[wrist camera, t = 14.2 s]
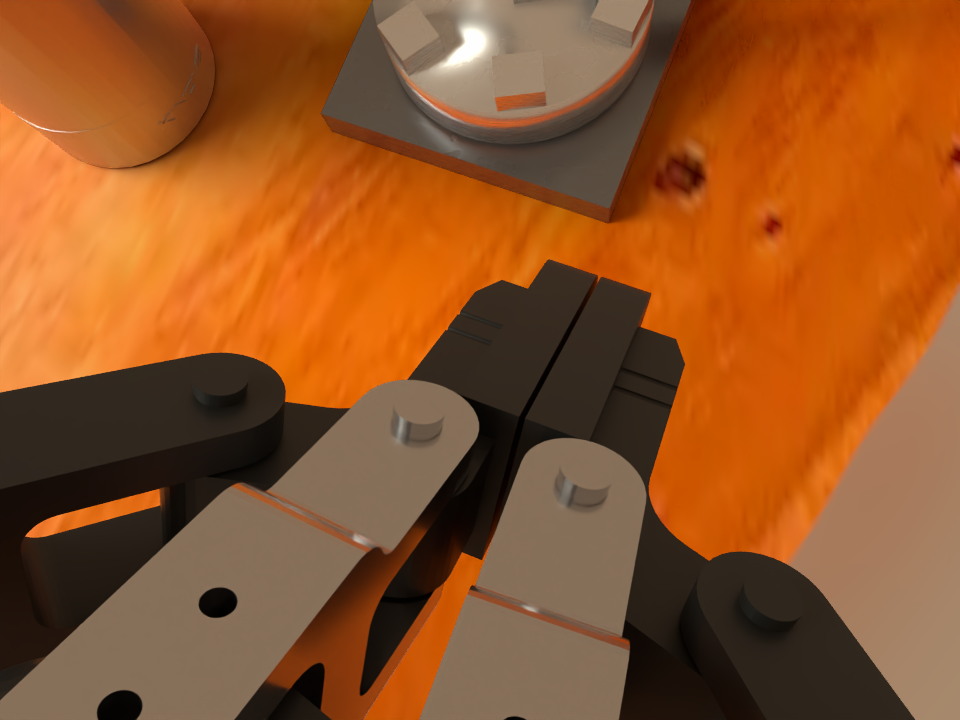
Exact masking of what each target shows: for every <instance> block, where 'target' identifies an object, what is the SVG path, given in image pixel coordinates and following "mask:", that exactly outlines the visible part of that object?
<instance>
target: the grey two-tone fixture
mask: <svg viewBox="0 0 960 720" xmlns="http://www.w3.org/2000/svg"><path fill="white" fill-rule="evenodd" d="M373 6H374V15H375V19H376V23H377V27H378V30H379V33H380V35H381V38H382V40H383V43H384V45H385V47H386V50H387V52H388V55H389V57H390V60H391V62H392V64H393V67H394V69H395V72H396V74H397V76H398V78H399V81H400V83H401V84H402V86H403V88H404V89H405V91H406V92H407V94H408V96H409V97H410V98H411V99H412V100H413V101H414V103H415V104H416V105H417V106H418V107H419V108H420V109H421V110H422V111H423V112H424V113H425V114H426V115H428V116H429V117H430V118H431V119H433V120H434V121H436V122H437V123H439V124H440V125H442V126H443V127H445V128H447V129H449V130H451V131H453V132H455V133H457V134H459V135H462V136H465V137H468V138H471V139H474V140H478V141H483V142H488V143H495V144H509V145H510V144H528V143H534V142H539V141H545V140H548V139H552V138H555V137H558V136H562V135H564V134H566V133H569V132H571V131H573V130H575V129H578V128H580V127H581V126H583V125H585V124H586V123H588V122H590V121H592V120H593V119H595V118H596V117H597V116H599V115H600V114H601V113H602V112H604V111H605V110H606V109H608V108H609V107H610V106H611V105H612V104H613V103H614V102H615V101H616V100H617V99H618V98H619V97H620V96H621V94H622V93H623V92H624V91H625V89H626V88H627V87H628V85H629V84H630V83H631V81H632V80H633V78H634V76H635V74H636V73H637V71H638V69H639V68H640V65H641V63H642V60H643V58H644V55H645V53H646V50H647V46H648V42H649V38H650V31H651V23H652V15H653V7H654V0H373Z"/></svg>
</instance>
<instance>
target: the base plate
mask: <svg viewBox="0 0 960 720" xmlns="http://www.w3.org/2000/svg"><path fill="white" fill-rule="evenodd" d="M695 1H696V0H654V7H653V15H652V23H651V31H650V38H649V42H648V46H647V50H646V53H645V55H644V58H643V60H642V63H641V65H640V68H639V69H638V71H637V73H636V74H635V76H634V78H633V80H632V81H631V83H630V84H629V85H628V87H627V88H626V89H625V91H624V92H623V93H622V94H621V96H620V97H619V98H618V99H617V100H616V101H615V102H614V103H613V104H612V105H611V106H610V107H609V108H608V109H606V110H605V111H604V112H602V113H601V114H600V115H599V116H597V117H596V118H595V119H593V120H592V121H590V122H588V123H586V124H585V125H583V126H581V127H580V128H578V129H575V130H573V131H571V132H569V133H566V134H564V135H562V136H558V137H555V138H552V139H548V140H545V141H539V142H534V143H528V144H510V145H509V144H495V143H488V142H483V141H478V140H474V139H471V138H468V137H465V136H462V135H459V134H457V133H455V132H453V131H451V130H449V129H447V128H445V127H443V126H442V125H440V124H439V123H437V122H436V121H434V120H433V119H431V118H430V117H429V116H428V115H426V114H425V113H424V112H423V111H422V110H421V109H420V108H419V107H418V106H417V105H416V104H415V103H414V101H413V100H412V99H411V98H410V97H409V96H408V94H407V92H406V91H405V89H404V88H403V86H402V84H401V83H400V81H399V78H398V76H397V74H396V72H395V69H394V67H393V64H392V62H391V60H390V57H389V55H388V52H387V50H386V47H385V45H384V43H383V40H382V38H381V35H380V33H379V30H378V27H377V23H376V19H375V15H374V6H373V0H372V2H371V4H370V6H369V9H368V11H367V13H366V15H365V17H364V20H363V22H362V24H361V26H360V29H359V31H358V33H357V35H356V37H355V40H354V42H353V44H352V46H351V48H350V51H349V53H348V55H347V57H346V59H345V62H344V64H343V66H342V68H341V71H340V73H339V75H338V77H337V79H336V82H335V84H334V86H333V88H332V90H331V93H330V95H329V97H328V99H327V102H326V104H325V106H324V108H323V110H322V113H321V114H322V116H323V118H324V119H325V121H326V122H327V124H328V126H329V127H330V129H331V130H332V131H333V132H336V133H339V134H342V135H345V136H348V137H351V138H354V139H357V140H360V141H363V142H366V143H369V144H372V145H375V146H378V147H381V148H384V149H387V150H390V151H393V152H396V153H399V154H402V155H405V156H408V157H411V158H414V159H417V160H420V161H423V162H426V163H429V164H432V165H435V166H438V167H441V168H444V169H447V170H450V171H453V172H456V173H459V174H462V175H465V176H468V177H471V178H474V179H477V180H480V181H483V182H486V183H489V184H492V185H495V186H498V187H501V188H504V189H507V190H510V191H513V192H516V193H519V194H522V195H525V196H528V197H531V198H534V199H537V200H540V201H543V202H546V203H549V204H552V205H555V206H558V207H561V208H564V209H567V210H570V211H573V212H576V213H579V214H582V215H585V216H588V217H591V218H594V219H597V220H600V221H603V222H606V223H609V221H610V218H611V216H612V213H613V210H614V208H615V205H616V203H617V200H618V198H619V195H620V193H621V190H622V187H623V185H624V182H625V180H626V177H627V175H628V172H629V170H630V167H631V164H632V162H633V159H634V157H635V154H636V152H637V149H638V147H639V144H640V141H641V139H642V136H643V134H644V131H645V129H646V126H647V124H648V121H649V118H650V116H651V113H652V111H653V108H654V106H655V103H656V101H657V98H658V95H659V93H660V90H661V88H662V85H663V83H664V80H665V78H666V75H667V72H668V70H669V67H670V65H671V62H672V60H673V57H674V55H675V52H676V49H677V47H678V44H679V42H680V39H681V37H682V34H683V32H684V29H685V26H686V24H687V21H688V19H689V16H690V14H691V11H692V9H693V6H694V3H695Z"/></svg>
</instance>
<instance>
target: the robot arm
mask: <svg viewBox="0 0 960 720" xmlns="http://www.w3.org/2000/svg"><path fill="white" fill-rule="evenodd" d="M214 79H215V63H214V55H213V51H212V48H211V45H210V42H209V39H208V38H207V36H206V35H205V33H204V31H203V30H202V28H201V27H200V25H199V24H198V22H197V21H196V20H195V18H194V17H193V16H192V15H191V13H190V12H189V11H188V9H187V8H186V7H185V5H184V4H183V3H182V1H181V0H0V103H2V104H3V105H4V106H6V107H7V108H8V109H10V110H11V111H12V112H14V113H15V114H16V115H17V116H19V117H20V118H21V119H23V120H24V121H25V122H27V123H28V124H29V125H31V126H32V127H33V128H35V129H36V130H37V131H39V132H40V133H41V134H43V135H44V136H46V137H47V138H48V139H50V140H51V141H52V142H54V143H55V144H56V145H58V146H59V147H60V148H62V149H63V150H65V151H66V152H68V153H69V154H70V155H72V156H73V157H75V158H76V159H78V160H80V161H83V162H86V163H88V164H91V165H94V166H99V167H107V168H122V167H132V166H136V165H139V164H143V163H146V162H150V161H152V160H154V159H156V158H158V157H160V156H161V155H163V154H165V153H167V152H169V151H170V150H171V149H173V148H174V147H175V146H177V145H178V144H179V143H180V142H182V141H183V140H184V139H185V138H186V137H187V136H188V134H189V133H190V132H191V131H192V130H193V129H194V128H195V127H196V125H197V124H198V122H199V120H200V119H201V117H202V115H203V114H204V112H205V110H206V109H207V106H208V103H209V100H210V98H211V95H212V92H213V86H214ZM597 280H598V275H595V274H592V273H589V272H586V271H583V270H580V269H577V268H574V267H571V266H568V265H565V264H562V263H559V262H556V261H553V260H550V259H549V260H547V261H546V263H545V264H544V266H543V267H542V269H541V270H540V272H539V273H538V275H537V276H536V278H535V279H534V281H533V282H532V284H531V285H530V287H529V288H528V289H527V288H524V287H521V286H518V285H515V284H512V283H509V282H506V281H504V280H501V281H498V282H496V283H494V284H492V285H490V286H487V287H485V288H483V289H481V290H478V291H476V292H475V293H474V294H473V295H472V297H471V298H470V299H469V301H468V302H467V303H466V305H465V306H464V307H463V308H462V310H461V312H460V314H459V315H457V316H456V317H455V319H454V320H453V321H452V323H451V324H450V325H449V327H448V330H445V332H444V333H443V334H442V336H441V337H440V338H439V339H438V341H437V342H436V343H435V345H434V346H433V347H432V348H431V350H430V351H429V352H428V354H427V355H426V356H425V358H424V359H423V360H422V361H421V363H420V364H419V365H418V367H417V368H416V369H415V370H414V372H413V373H412V374H411V376H410V377H409V378H408V379H407V380H399V381H392V382H388V383H384V384H382V385H379V386H377V387H375V388H373V389H371V390H370V391H368V392H367V393H366V394H365V395H363V396H362V397H361V398H360V399H359V400H358V401H357V402H356V403H355V404H354V405H353V406H352V407H351V408H341V409H338V408H326V407H319V406H311V405H304V404H297V403H289V402H285V393H286V391H285V386H284V383H283V381H282V379H281V377H280V376H279V375H278V373H277V372H276V371H275V370H273V369H272V368H271V367H270V366H268V365H267V364H265V363H263V362H261V361H259V360H257V359H254V358H251V357H248V356H244V355H239V354H233V353H208V354H201V355H196V356H190V357H185V358H180V359H175V360H169V361H164V362H159V363H154V364H148V365H143V366H138V367H133V368H127V369H122V370H117V371H112V372H106V373H101V374H96V375H91V376H85V377H80V378H75V379H70V380H64V381H59V382H54V383H48V384H43V385H38V386H33V387H27V388H22V389H17V390H12V391H6V392H1V393H0V720H364V718H365V716H366V714H367V713H368V711H369V709H370V708H371V706H372V705H373V703H374V702H375V700H376V698H377V697H378V695H379V694H380V692H381V691H382V689H383V688H384V686H385V684H386V683H387V681H388V680H389V678H390V677H391V675H392V674H393V672H394V670H395V669H396V667H397V666H398V664H399V663H400V661H401V660H402V658H403V656H404V655H405V653H406V652H407V650H408V649H409V647H410V646H411V644H412V642H413V641H414V639H415V638H416V636H417V635H418V633H419V632H420V630H421V628H422V627H423V625H424V624H425V622H426V621H427V619H428V617H429V616H430V614H431V613H432V611H433V610H434V608H435V607H436V605H437V603H438V601H439V599H440V597H441V594H442V590H443V586H444V582H445V581H446V580H447V578H448V577H449V575H450V574H451V572H452V570H453V568H454V566H455V565H456V563H457V561H458V559H459V557H460V555H461V553H462V552H463V553H466V554H468V555H470V556H473V557H475V558H478V559H480V560H482V559H483V557H484V554H485V552H486V550H487V548H488V546H489V544H490V542H491V540H492V542H491V545H490V547H489V550H488V553H487V556H486V558H485V561H484V564H483V566H482V569H481V572H480V574H479V577H478V580H477V582H476V585H475V586H473V585H472V586H471V588H470V589H469V592H468V594H467V596H466V598H465V601H464V603H463V606H462V609H461V611H460V614H459V617H458V619H457V622H456V624H455V627H454V630H453V632H452V635H451V638H450V640H449V643H448V646H447V648H446V651H445V653H444V656H443V659H442V661H441V664H440V667H439V669H438V672H437V674H436V677H435V680H434V682H433V685H432V688H431V690H430V693H429V696H428V698H427V701H426V703H425V706H424V709H423V711H422V714H421V717H420V719H419V720H915V719H914V717H913V716H912V715H911V713H910V712H909V711H908V709H907V708H906V707H905V705H904V704H903V703H902V701H901V700H900V698H899V697H898V696H897V695H896V693H895V692H894V690H893V689H892V687H891V686H890V685H889V683H888V682H887V681H886V680H885V678H884V677H883V675H882V674H881V672H880V671H879V670H878V669H877V667H876V666H875V664H874V663H873V662H872V660H871V659H870V658H869V656H868V655H867V653H866V652H865V651H864V649H863V648H862V647H861V645H860V644H859V643H858V641H857V640H856V639H855V637H854V636H853V634H852V633H851V632H850V630H849V629H848V628H847V626H846V625H845V623H844V622H843V621H842V619H841V618H840V617H839V615H838V614H837V613H836V611H835V610H834V609H833V607H832V606H831V604H830V603H829V602H828V600H827V599H826V598H825V596H824V595H823V594H822V593H821V592H820V590H819V589H818V588H817V587H816V586H815V585H814V584H813V583H812V582H811V581H810V580H809V579H807V578H806V577H805V576H804V575H802V574H801V573H800V572H798V571H797V570H795V569H793V568H792V567H790V566H789V565H787V564H785V563H783V562H781V561H778V560H776V559H774V558H771V557H768V556H765V555H761V554H757V553H752V552H729V553H725V554H721V555H719V556H717V557H715V558H713V559H711V560H710V561H708V560H707V559H705V558H704V557H702V556H701V555H699V554H698V553H697V552H695V551H694V550H692V549H691V548H689V547H688V546H686V545H685V544H684V543H682V542H681V541H680V540H678V539H677V538H676V537H675V536H674V535H673V534H672V533H671V532H670V531H669V530H668V529H667V528H666V527H665V526H664V524H663V523H662V522H661V521H660V519H659V518H658V516H657V514H656V513H655V511H654V509H653V506H652V504H651V501H650V497H649V487H648V486H649V481H650V476H651V473H652V470H653V467H654V463H655V460H656V457H657V454H658V450H659V447H660V444H661V441H662V437H663V434H664V431H665V428H666V424H667V421H668V418H669V414H670V411H671V407H672V405H673V401H674V398H675V395H676V392H677V388H678V385H679V382H680V379H681V375H682V372H683V369H684V366H685V363H684V360H683V357H682V355H681V352H680V349H679V346H678V343H677V341H676V339H674V338H671V337H668V336H665V335H662V334H659V333H656V332H653V331H650V330H647V329H644V328H642V327H641V324H642V321H643V318H644V315H645V312H646V309H647V306H648V303H649V300H650V297H651V293H649V292H646V291H643V290H640V289H637V288H634V287H631V286H628V285H625V284H622V283H619V282H616V281H613V280H610V279H607V278H604V277H601V278H600V280H599V282H598V284H597ZM156 489H160V506H157V507H153V508H149V509H146V510H142V511H138V512H135V513H131V514H127V515H124V516H120V517H116V518H113V519H109V520H105V521H102V522H98V523H94V524H91V525H87V526H83V527H79V528H76V529H72V530H68V531H65V532H61V533H57V534H54V535H50V536H46V537H40V538H30V537H25V536H26V534H27V533H28V532H29V531H30V530H31V529H32V528H33V527H35V526H36V525H37V524H39V523H40V522H42V521H44V520H46V519H48V518H51V517H54V516H57V515H60V514H64V513H68V512H72V511H76V510H80V509H83V508H87V507H91V506H95V505H99V504H103V503H106V502H110V501H114V500H118V499H122V498H125V497H129V496H133V495H137V494H141V493H145V492H148V491H152V490H156ZM493 536H494V537H493ZM492 538H493V539H492Z"/></svg>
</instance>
